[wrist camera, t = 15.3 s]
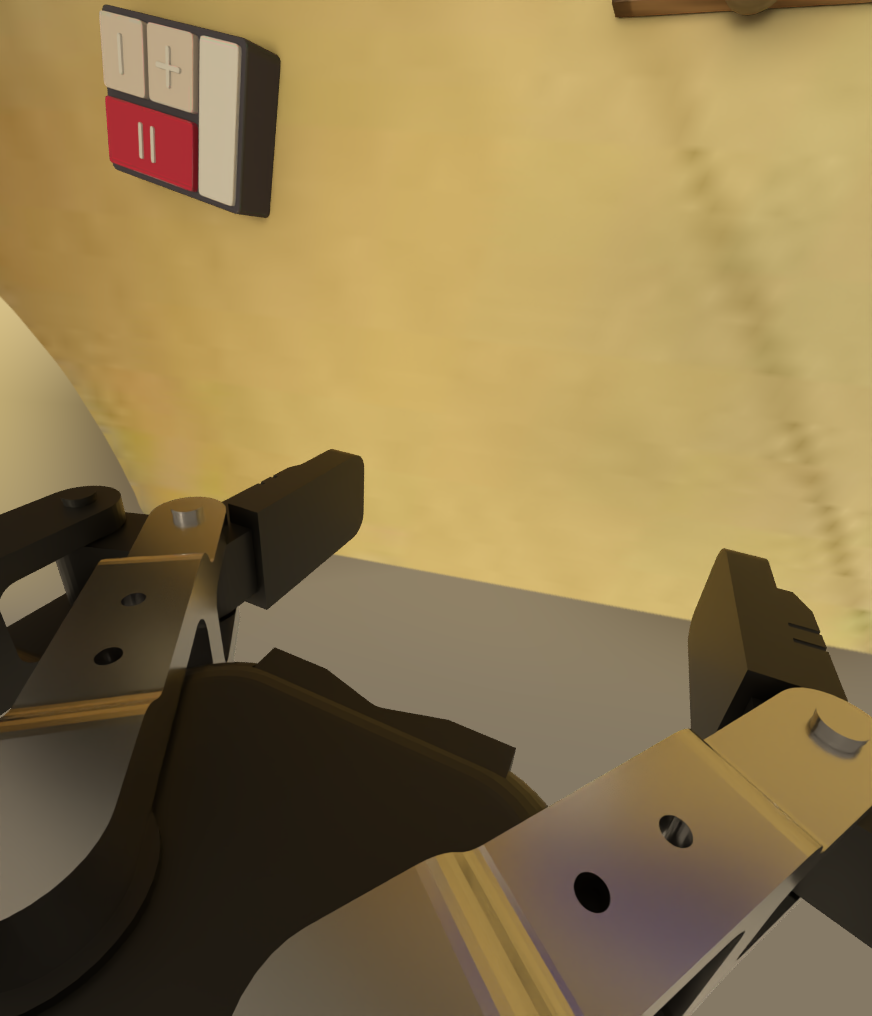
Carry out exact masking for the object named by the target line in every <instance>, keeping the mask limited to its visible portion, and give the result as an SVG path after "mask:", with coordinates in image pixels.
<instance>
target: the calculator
mask: <svg viewBox="0 0 872 1016" xmlns="http://www.w3.org/2000/svg"><path fill="white" fill-rule="evenodd" d="M99 17H100V31H101V45H102V59H103V73H104V83H105V85H106V86H107V89H108V96H106V98H105V102H106V116H107V130H108V144H109V157H110V161H111V162H112V163H113V166H114V167H115V169H117V170H119V171H122V172H125V173H127V174H130V175H133V176H135V177H138V178H141V179H144V180H146V181H149V182H152V183H154V184H157V185H160V186H162V187H165V188H168V189H171V190H173V191H176V192H179V193H181V194H184V195H187V196H189V197H192V198H195V199H198V200H200V201H203V202H206V203H208V204H211V205H214V206H216V207H219V208H222V209H225V210H227V211H230V212H233V213H236V214H241V215H249V216H256V217H264V218H267V217H268V216H269V213H270V201H271V188H272V174H273V160H274V147H275V133H276V120H277V106H278V92H279V79H280V58H279V57H278V56H277V55H276V54H274V53H272V52H270V51H268V50H266V49H264V48H262V47H260V46H258V45H256V44H255V43H253V42H251V41H249V40H247V39H245V38H242V37H238V36H233V35H229V34H225V33H221V32H217V31H213V30H209V29H205V28H201V27H197V26H193V25H188V24H184V23H180V22H176V21H172V20H168V19H164V18H160V17H156V16H152V15H148V14H143V13H139V12H135V11H131V10H127V9H123V8H119V7H115V6H111V5H104V6H103V8H102V11H100V16H99Z"/></svg>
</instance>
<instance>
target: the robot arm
mask: <svg viewBox="0 0 872 1016" xmlns="http://www.w3.org/2000/svg"><path fill="white" fill-rule="evenodd" d="M363 510H364V463H363V460H362V458H361V457H360V456H358V455H354V454H350V453H346V452H342V451H338V450H334V449H330V450H328V451H326V452H324V453H322V454H320V455H318V456H316V457H314V458H313V459H311V460H309V461H307V462H305V463H303V464H301V465H297V466H293V467H289V468H287V469H285V470H283V471H281V472H279V473H277V474H275V475H274V476H273V477H269V478H267V479H266V480H264V481H262V482H261V484H256V485H254V486H252V487H250V488H248V489H246V490H244V491H242V492H240V493H239V494H237V495H235V496H233V497H231V498H229V499H227V500H225V501H223V502H220V501H218V500H216V499H212V498H207V497H187V498H180V499H175V500H172V501H169V502H166V503H163V504H161V505H159V506H158V507H156V508H155V509H153V510H152V511H151V513H150V514H149V515H147V514H137V513H127V512H125V511H124V507H123V502H122V499H121V494H120V492H119V491H117V490H116V489H113V488H111V487H105V486H83V487H76V488H71V489H67V490H63V491H60V492H57V493H54V494H52V495H49V496H46V497H44V498H41V499H39V500H36V501H34V502H31V503H29V504H26V505H24V506H21V507H18V508H16V509H13V510H11V511H8V512H6V513H3V514H1V515H0V598H1V596H2V594H3V592H4V591H5V589H7V588H8V587H9V586H10V585H11V584H12V583H14V582H16V581H17V580H19V579H21V578H23V577H25V576H27V575H29V574H31V573H33V572H35V571H37V570H39V569H41V568H43V567H45V566H47V565H49V564H51V563H52V562H55V561H56V563H57V567H58V570H59V573H60V576H61V579H62V582H63V585H64V588H65V591H66V593H65V594H64V595H62V596H60V597H58V598H57V599H55V600H53V601H52V602H50V603H48V604H46V605H45V606H43V607H41V608H39V609H38V610H36V611H34V612H32V613H31V614H29V615H27V616H26V617H24V618H22V619H21V620H19V621H17V622H15V623H13V624H12V625H10V626H8V627H6V625H5V622H4V620H3V617H2V615H1V613H0V715H2V714H3V713H4V712H6V711H7V710H9V709H10V708H11V709H10V710H9V712H7V713H6V714H5V715H4V716H3V717H1V718H0V1016H691V1014H692V1013H693V1012H694V1011H695V1010H696V1009H697V1008H698V1007H699V1006H700V1005H701V1003H702V1002H703V1001H704V1000H705V999H706V998H707V997H708V995H709V994H710V993H711V992H712V991H713V990H714V989H715V988H716V986H717V985H718V984H719V983H720V982H721V981H722V980H723V979H724V978H725V977H726V976H727V975H728V973H730V971H732V969H734V967H735V966H736V965H738V963H739V962H740V961H741V960H742V959H743V958H744V957H745V956H746V955H747V954H748V953H749V952H750V951H751V950H752V949H753V948H754V947H755V946H756V945H757V944H758V943H759V942H760V941H761V940H762V939H763V938H764V937H765V936H766V935H767V934H768V933H769V932H770V931H771V930H772V929H773V928H774V927H775V926H776V925H777V924H778V923H779V922H780V921H781V920H782V919H783V918H784V917H785V916H786V915H787V914H788V913H789V912H790V911H791V910H792V909H793V908H794V907H795V906H796V905H797V904H798V903H799V902H800V901H801V900H802V899H804V900H805V901H807V902H808V903H810V904H811V905H812V906H814V907H815V908H816V909H818V910H819V911H821V912H822V913H823V914H825V915H826V916H828V917H829V918H830V919H832V920H833V921H835V922H836V923H837V924H839V925H840V926H841V927H843V928H844V929H846V930H847V931H849V932H850V933H851V934H853V935H854V936H855V937H857V938H858V939H860V940H861V941H862V942H864V943H865V944H867V945H868V946H869V947H871V948H872V717H871V716H869V715H868V714H867V713H865V712H863V711H862V710H861V709H859V708H857V707H856V706H854V705H852V704H850V703H848V700H847V698H846V695H845V693H844V690H843V688H842V685H841V683H840V680H839V678H838V675H837V673H836V670H835V668H834V665H833V663H832V660H831V657H830V655H829V652H826V648H827V647H826V645H825V642H824V640H823V637H822V635H819V633H820V630H819V627H818V625H817V622H816V620H815V617H814V615H813V612H812V611H811V610H810V609H809V608H808V607H807V606H806V605H805V604H804V603H803V602H802V601H801V600H800V599H799V598H798V597H797V596H796V595H795V594H794V593H793V592H790V591H786V590H782V589H779V588H777V587H776V584H775V581H774V577H773V574H772V571H771V568H770V565H769V562H768V560H767V559H764V558H760V557H756V556H752V555H748V554H744V553H740V552H736V551H732V550H729V549H725V548H724V549H722V550H721V551H720V553H719V554H718V556H717V558H716V560H715V563H714V565H713V568H712V570H711V573H710V575H709V577H708V580H707V582H706V585H705V587H704V590H703V592H702V595H701V597H700V599H699V602H698V604H697V607H696V609H695V612H694V615H693V618H692V621H691V625H690V630H689V636H688V657H689V683H690V684H689V686H690V713H691V729H683V730H680V731H678V732H676V733H674V734H673V735H671V736H669V737H667V738H666V739H664V740H662V741H660V742H659V743H657V744H655V745H654V746H652V747H650V748H648V749H647V750H645V751H643V752H642V753H640V754H638V755H636V756H635V757H633V758H631V759H630V760H628V761H626V762H625V763H623V764H621V765H619V766H618V767H616V768H614V769H612V770H611V771H609V772H607V773H606V774H604V775H602V776H601V777H599V778H597V779H595V780H594V781H592V782H590V783H588V784H587V785H585V786H583V787H582V788H580V789H578V790H576V791H575V792H573V793H571V794H569V795H568V796H566V797H564V798H563V799H561V800H559V801H557V802H556V803H554V804H552V805H551V806H549V807H548V806H547V805H546V803H545V802H544V801H543V800H542V799H541V798H540V797H539V796H538V794H537V793H536V792H534V791H533V790H532V789H531V788H530V787H529V786H528V785H527V784H526V783H525V782H524V781H523V780H521V779H520V778H518V777H517V776H516V775H514V774H513V773H512V772H511V766H512V763H513V758H514V754H515V750H516V748H514V747H512V746H509V745H507V744H505V743H502V742H500V741H498V740H495V739H493V738H490V737H488V736H486V735H483V734H481V733H478V732H476V731H474V730H471V729H469V728H466V727H464V726H461V725H459V724H457V723H455V722H452V721H449V720H446V719H440V718H434V717H429V716H423V715H418V714H412V713H406V712H401V711H395V710H390V709H385V708H380V707H377V706H375V705H373V704H372V703H370V702H369V701H367V700H366V699H365V698H364V697H362V696H361V695H360V694H358V693H357V692H356V691H354V690H353V689H352V688H351V687H349V686H348V685H347V684H345V683H344V682H343V681H341V680H340V679H339V678H337V677H336V676H335V675H334V674H332V673H331V672H330V671H328V670H327V669H325V668H323V667H320V666H318V665H316V664H313V663H311V662H309V661H306V660H303V659H301V658H299V657H296V656H294V655H292V654H289V653H287V652H284V651H282V650H280V649H277V648H274V649H272V650H271V651H270V652H269V653H268V654H267V655H266V656H265V657H264V658H263V659H262V660H261V661H260V662H259V663H258V664H257V663H247V662H246V663H245V662H234V657H235V650H236V643H237V636H238V630H239V623H240V612H239V605H240V604H242V603H243V602H244V601H246V602H248V603H251V604H253V605H256V606H259V607H261V608H264V609H266V610H267V609H269V608H270V607H271V606H272V605H273V604H274V603H276V602H277V601H278V600H279V599H280V598H282V597H283V596H284V595H285V594H286V593H288V592H289V591H290V590H291V589H292V588H294V587H295V586H296V585H297V584H298V583H300V582H301V581H302V580H303V579H304V578H306V577H307V576H308V575H309V574H310V573H311V572H313V571H314V570H315V569H316V568H317V567H319V566H320V565H321V564H322V563H323V562H325V561H326V560H327V559H328V558H329V557H331V556H332V555H333V554H334V553H335V552H337V551H338V550H339V549H340V548H341V547H342V546H344V545H345V544H346V543H347V542H348V541H350V540H351V539H352V538H353V537H354V536H355V535H356V534H357V532H358V530H359V528H360V526H361V523H362V520H363Z"/></svg>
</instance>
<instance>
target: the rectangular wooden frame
mask: <svg viewBox="0 0 872 1016" xmlns="http://www.w3.org/2000/svg"><path fill="white" fill-rule="evenodd" d="M866 2H872V0H612V5H613V9H614V13H615V17H631V16H647V15H664V14H681V13H698V12H715V11H734V12H736V13H738V14H741V15H752V14H756V13H759V12H762V11H764V10H765V9H767V8H782V7H799V6H816V5H833V4H849V3H866Z"/></svg>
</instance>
